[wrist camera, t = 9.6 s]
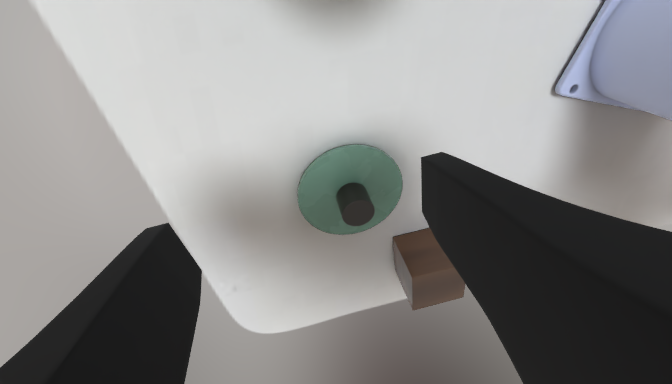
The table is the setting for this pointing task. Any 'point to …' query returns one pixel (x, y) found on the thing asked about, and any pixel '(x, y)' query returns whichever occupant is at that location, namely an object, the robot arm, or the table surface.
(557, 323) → the robot arm
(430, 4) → the table surface
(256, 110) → the table surface
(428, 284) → the block
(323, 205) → the lid
